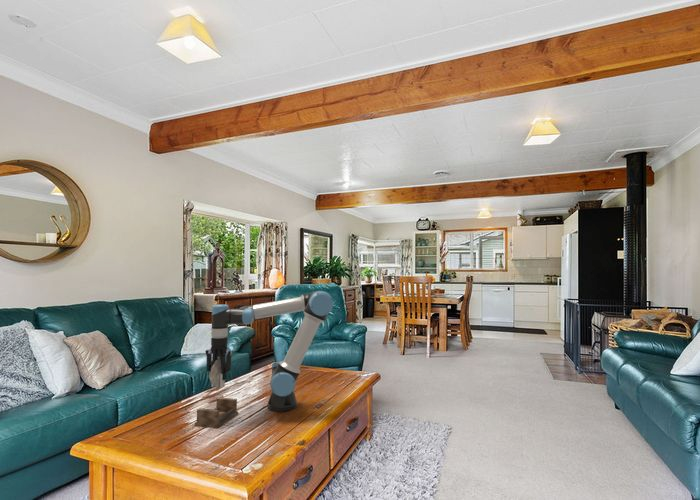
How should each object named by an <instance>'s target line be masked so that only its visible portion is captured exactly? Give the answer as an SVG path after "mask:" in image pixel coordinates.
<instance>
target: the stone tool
mask: <svg viewBox="0 0 700 500" xmlns="http://www.w3.org/2000/svg"><path fill="white" fill-rule="evenodd" d="M221 373H222V369H221V362H220V359H219V357H218V359H217V360H216V361H215V363H214V365H213V366H212V368H211V373H210V372H209V374H208V378H209V382H210V383H211V385H212V384H213V386H214V387H215V392H218V391H219V390H220V389H221V388H220V374H221Z"/></svg>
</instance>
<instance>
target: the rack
mask: <svg viewBox="0 0 700 500" xmlns="http://www.w3.org/2000/svg"><path fill="white" fill-rule="evenodd" d="M215 404H216V407H214V408H203V407H202V408H201V407H200V408H196V422H194V426H195V427H204V428H213V429H219V428H221V427H222V426H224V425H225V424H226V423H228V422H229V421H231V420H233V418H235V417H237V416H238V415H239V411H237V409H238V406H237V405H238V398H228V397H218V398H216V403H215Z"/></svg>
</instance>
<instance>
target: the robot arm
mask: <svg viewBox="0 0 700 500" xmlns="http://www.w3.org/2000/svg"><path fill="white" fill-rule="evenodd" d="M333 307H334V301H333V297H332V295H331V294H329V293H328V292H327V291H324V290H315V291H312V292H309V293H305V294H304V293H303V294H301V296H299V297H292V298H286V299H280V300H274V301H269V302H263V303H257V304H252V305H244V306H243V305H242V306H240V307H238V308H230V306H229V304H224V303H223V304H214V305H213V306H212V311H211V330H210V331H211V332H210V333H211V335H210V336H211V339H210V345H211V346H210V349H206V350H205V355H206V372H209V374H210V373H211V368H212V366H213V365H214V363H215V361H216V360H217V359H218V358H219V359H220V362H221V369H222V373H221V374H220V389H222V388H224V387H225V386H226V385H225V384H226V383H225V381H226V380H227V373H229V372H230V371H231V365H232V355H233V353H234V351H233V350H230V349H229V348H228V343H229V342H228V339H229V338H228V331H229V325H252V324H253V323H254V320H258V319H265V318H268V317H269V318H270V317H276V316H282V315H287V314H292V313H298V312H299V313H300V312H303V315H304V317H303V319H302V321H301V323H300V325H299V328H298V330H297V331H296V334H295V336H294V338H293V340H292V342H291V344H290V347H288V351H287V353H286V355H285V356H284V359H283V360H281V361H274V362H272V365H271V377H270V385H269V386H270V389H271V393H270V395H269V397H268V401H267V409H268V410H270V411H273V412H288V411H292V410H294V409H296V408H297V407H298V399H297V397H296V394H295V388H296V383H297V381H298V378H299V376H300V374H301V369H300V367H301V365H302V362H304V361H303V360H304V358H305V357H306V355H307V352H308V350H309V348H310V346H311V344H312V342H313V340H314V337H315V335H316V333H317V331H318V329H319V327H320V325H321V324H322V323H324V322H325V321H326V319H327V317H328V314H330V312H331V311H332V310H333ZM214 387H215V386H213V384H212V383H211V388H214Z"/></svg>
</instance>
